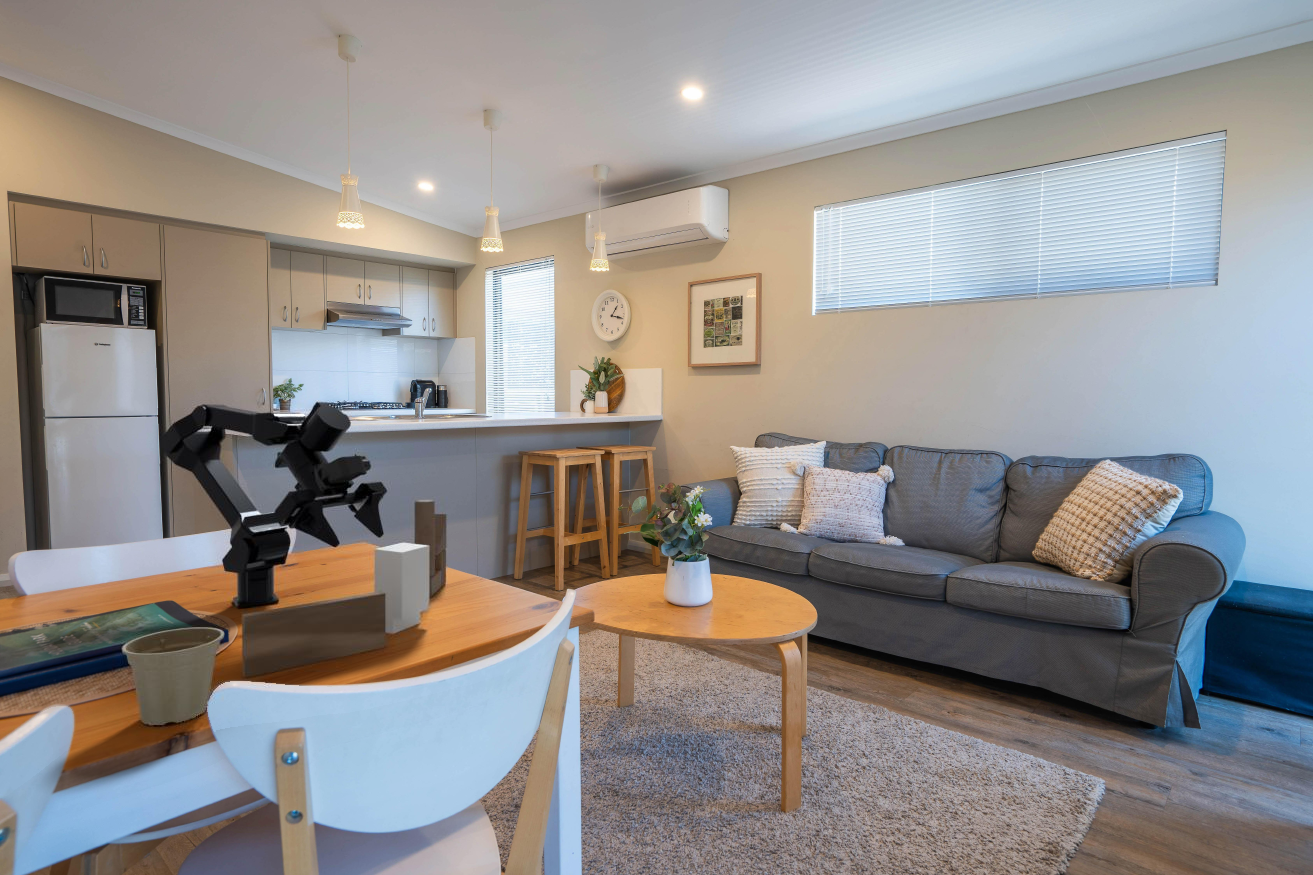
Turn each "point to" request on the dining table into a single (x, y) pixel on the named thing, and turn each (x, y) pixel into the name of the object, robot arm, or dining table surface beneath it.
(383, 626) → the wall board
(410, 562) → the white notched pillar
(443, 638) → the dining table surface
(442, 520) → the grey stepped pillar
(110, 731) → the dining table surface
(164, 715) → the flower pot
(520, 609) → the dining table surface
